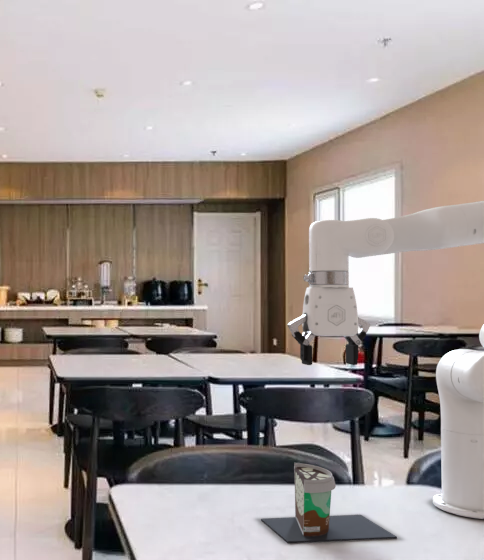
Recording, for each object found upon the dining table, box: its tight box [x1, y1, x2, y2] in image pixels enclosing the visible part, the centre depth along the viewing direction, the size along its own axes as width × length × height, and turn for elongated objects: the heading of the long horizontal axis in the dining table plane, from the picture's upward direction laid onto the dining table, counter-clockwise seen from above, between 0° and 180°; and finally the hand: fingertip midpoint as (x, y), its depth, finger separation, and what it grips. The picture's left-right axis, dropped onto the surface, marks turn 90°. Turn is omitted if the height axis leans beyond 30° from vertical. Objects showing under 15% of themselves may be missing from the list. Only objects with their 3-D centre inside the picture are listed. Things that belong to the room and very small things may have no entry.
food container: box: [293, 462, 337, 536], centre depth 112 cm, size 12×6×10 cm, turn 168°
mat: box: [260, 514, 398, 544], centre depth 112 cm, size 20×11×1 cm, turn 97°
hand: (329, 364), depth 127 cm, fingers open, 9 cm apart
